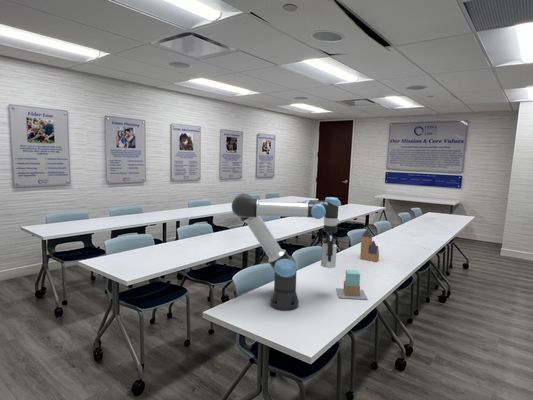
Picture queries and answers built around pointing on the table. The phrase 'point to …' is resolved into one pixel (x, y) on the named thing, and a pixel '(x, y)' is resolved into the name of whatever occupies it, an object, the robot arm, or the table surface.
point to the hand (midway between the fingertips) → (328, 264)
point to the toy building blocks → (368, 248)
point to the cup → (324, 256)
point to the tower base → (342, 296)
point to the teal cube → (352, 278)
